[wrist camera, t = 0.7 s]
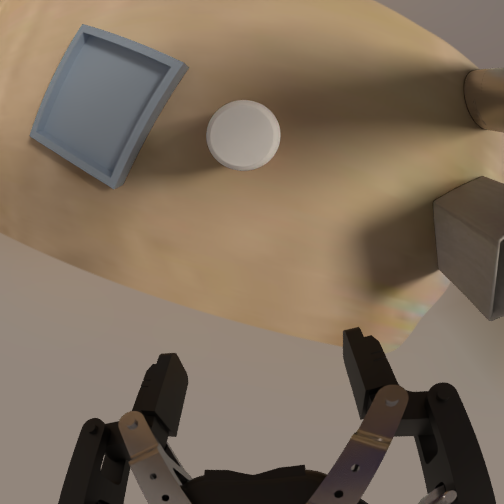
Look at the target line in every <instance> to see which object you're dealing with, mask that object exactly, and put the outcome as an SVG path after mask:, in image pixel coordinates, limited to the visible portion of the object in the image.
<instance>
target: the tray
mask: <svg viewBox="0 0 504 504" xmlns="http://www.w3.org/2000/svg"><path fill="white" fill-rule="evenodd" d="M188 69H189V67H188V66H187V65H186V64H185V63H183V62H181V61H179V60H177V59H175V58H173V57H170V56H168V55H166V54H164V53H161V52H159V51H157V50H154V49H152V48H150V47H147V46H145V45H142V44H140V43H137V42H135V41H132V40H129V39H127V38H124V37H121V36H119V35H116V34H113V33H110V32H107V31H104V30H101V29H98V28H94V27H91V26H88V25H84V24H82V25H81V27H80V29H79V30H78V32H77V33H76V35H75V37H74V38H73V40H72V42H71V44H70V45H69V47H68V49H67V51H66V52H65V54H64V56H63V58H62V60H61V62H60V64H59V66H58V68H57V70H56V72H55V74H54V76H53V78H52V80H51V82H50V84H49V87H48V89H47V91H46V93H45V96H44V98H43V100H42V103H41V105H40V108H39V111H38V113H37V116H36V118H35V121H34V124H33V127H32V130H31V133H30V137H32V138H33V139H35V140H36V141H38V142H40V143H41V144H43V145H44V146H46V147H47V148H49V149H50V150H52V151H54V152H55V153H57V154H58V155H60V156H61V157H63V158H65V159H66V160H68V161H69V162H71V163H73V164H74V165H76V166H77V167H79V168H80V169H82V170H84V171H85V172H87V173H88V174H90V175H92V176H93V177H95V178H96V179H98V180H100V181H101V182H103V183H104V184H106V185H108V186H109V187H111V188H113V189H116V188H118V187H120V186H122V185H123V184H124V181H125V179H126V177H127V175H128V173H129V171H130V169H131V167H132V165H133V163H134V160H135V158H136V156H137V155H138V153H139V151H140V149H141V147H142V145H143V143H144V141H145V139H146V137H147V135H148V134H149V132H150V130H151V128H152V126H153V125H154V123H155V121H156V119H157V118H158V116H159V114H160V112H161V111H162V109H163V107H164V106H165V104H166V102H167V101H168V99H169V98H170V96H171V94H172V93H173V91H174V90H175V88H176V87H177V85H178V83H179V82H180V80H181V79H182V77H183V76H184V74H185V73H186V71H187V70H188Z"/></svg>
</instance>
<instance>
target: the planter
mask: <svg viewBox="0 0 504 504" xmlns="http://www.w3.org/2000/svg"><path fill="white" fill-rule="evenodd" d="M433 211H434V226H435V237H436V248H437V258H438V269H439V270H440V271H441V272H442V273H443V274H444V275H445V276H446V277H447V278H448V279H449V280H450V281H451V282H452V283H453V284H454V285H455V286H456V287H457V288H458V289H459V290H460V291H461V292H462V293H463V294H464V295H465V296H466V297H467V298H468V299H469V300H470V301H471V302H472V303H473V304H474V305H475V306H476V308H477V309H478V310H479V311H480V312H481V313H482V314H483V315H484V316H485V317H486V318H487V319H488V320H489V321H493V320H495V319H498V318H500V317H503V316H504V184H503V183H500V182H498V181H495V180H492V179H490V178H487V177H484V176H482V177H480V178H477V179H475V180H473V181H471V182H468V183H466V184H464V185H462V186H460V187H458V188H456V189H454V190H452V191H450V192H448V193H446V194H445V195H443V196H441V197H440V198H438V199H436V200H435V201H434V202H433Z"/></svg>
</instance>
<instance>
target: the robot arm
mask: <svg viewBox="0 0 504 504" xmlns="http://www.w3.org/2000/svg"><path fill="white" fill-rule="evenodd" d="M464 95H465V101H466V104H467V107H468V110H469V112H470V114H471V116H472V118H473V119H474V121H475V122H476V123H477V124H478V125H479V126H480V127H482V128H483V129H486V130H492V131H498V132H503V133H504V68H492V69H480V70H474V71H471V72H470V73H469V74H468V75H467V77H466V80H465V85H464ZM343 358H344V363H345V367H346V370H347V374H348V377H349V380H350V384H351V387H352V390H353V394H354V397H355V401H356V405H357V408H358V412H359V416H360V419H364V420H363V422H362V423H361V426H360V427H359V429H358V430H357V432H356V433H354V434H353V436H352V437H351V438H350V440H349V442H348V443H347V445H346V447H345V448H344V450H343V452H342V453H341V455H340V456H339V458H338V460H337V461H336V463H335V465H334V466H333V467H332V469H331V470H330V472H329V473H328V475H327V474H324V473H321V472H318V471H313V470H305V465H299V466H291V467H282V468H277V469H274V470H270V471H267V472H263V473H260V474H256V475H249V474H244V473H238V472H234V471H229V470H205V474H204V475H203V476H199V477H196V478H194V479H192V478H191V476H190V475H189V474H188V473H187V472H186V471H185V469H184V468H183V466H182V465H181V463H180V462H179V460H178V458H177V457H176V455H175V454H174V452H173V450H172V449H171V447H170V446H169V444H168V442H167V439H168V436H172V437H176V436H177V431H178V426H179V421H180V417H181V413H182V408H183V403H184V399H185V395H186V390H187V386H188V376H187V373H186V371H185V369H184V367H183V365H182V363H181V361H180V359H179V357H178V356H177V354H176V353H167V354H161V355H159V358H158V361H157V364H153V365H152V366H151V367H150V368H149V369H148V370H147V372H146V374H145V377H144V381H143V382H142V385H141V388H140V390H139V393H138V395H137V398H136V401H135V404H134V407H133V409H132V411H130V412H127V413H126V414H125V415H123V416H122V417H121V419H120V420H119V421H118V422H113V423H108V424H105V423H104V422H103V421H101V420H100V419H98V418H92V419H90V420H88V421H87V422H86V423H85V424H84V425H83V427H82V430H81V432H80V435H79V438H78V441H77V444H76V447H75V449H74V452H73V456H72V458H71V462H70V465H69V468H68V472H67V474H66V478H65V481H64V484H63V488H62V491H61V495H60V499H59V503H58V504H123V503H124V497H125V492H126V486H127V481H128V476H129V471H130V467H131V470H132V472H133V474H134V476H135V478H136V480H137V482H138V484H139V486H140V488H141V490H142V492H143V494H144V496H145V498H146V500H147V502H148V504H368V503H366V502H365V501H364V500H362V499H361V497H362V495H363V494H364V492H365V490H366V489H367V487H368V485H369V484H370V482H371V480H372V478H373V477H374V475H375V473H376V471H377V469H378V467H379V466H380V464H381V462H382V460H383V458H384V456H385V454H386V452H387V450H388V447H389V445H390V443H391V441H392V439H393V437H394V436H414V438H415V442H416V445H417V449H418V453H419V457H420V461H421V465H422V470H423V474H424V478H425V483H426V488H427V492H428V495H426V496H425V497H424V498H422V499H421V500H420V502H419V503H418V504H496V501H495V496H494V493H493V488H492V485H491V481H490V477H489V474H488V471H487V467H486V465H485V461H484V458H483V455H482V452H481V449H480V446H479V444H478V441H477V438H476V435H475V433H474V430H473V428H472V425H471V422H470V420H469V418H468V415H467V413H466V410H465V408H464V406H463V403H462V402H461V399H460V397H459V394H458V392H457V390H456V389H455V387H453V386H452V385H450V384H448V383H438V384H435V385H434V386H432V387H431V388H430V390H429V391H424V392H411V391H407V390H405V389H404V388H403V387H401V386H399V384H398V382H397V381H396V378H395V376H394V374H393V371H392V369H391V367H390V364H389V362H388V360H387V358H386V356H385V353H384V352H383V349H382V347H381V345H380V343H379V341H378V340H376V339H375V338H374V337H373V336H372V335H371V336H367V337H364V336H363V334H362V332H361V329H360V328H359V327H357V328H352V329H348V330H344V331H343ZM104 455H105V458H104V461H103V457H104ZM102 461H103V465H102V469H101V464H102Z"/></svg>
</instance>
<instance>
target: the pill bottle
mask: <svg viewBox="0 0 504 504" xmlns="http://www.w3.org/2000/svg"><path fill="white" fill-rule="evenodd" d="M280 135H281V134H280V127H279V123H278V121H277V119H276V117H275V116H274V114H273V113H272V112H271V111H270V110H269V109H268V108H267V107H265V106H264V105H262V104H260V103H257V102H254V101H250V100H237V101H233V102H230V103H227V104H225V105H224V106H222V107H221V108H219V109H218V110H217V111H216V112H215V113H214V115H213V116H212V118H211V119H210V121H209V124H208V127H207V132H206V139H207V145H208V148H209V150H210V152H211V154H212V155H213V157H214V158H215V159H216V160H217V161H218V162H219V163H221V164H222V165H224V166H225V167H228V168H230V169H234V170H239V171H248V170H253V169H257V168H259V167H261V166H263V165H265V164H266V163H267V162H269V161H270V160H271V159H272V157H273V156H274V155H275V153H276V152H277V149H278V147H279V143H280Z"/></svg>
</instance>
